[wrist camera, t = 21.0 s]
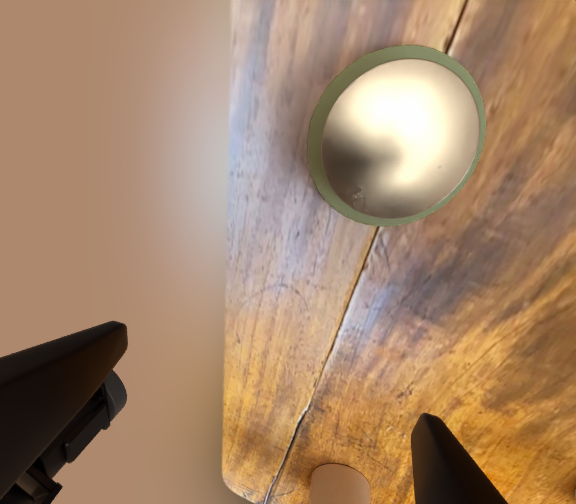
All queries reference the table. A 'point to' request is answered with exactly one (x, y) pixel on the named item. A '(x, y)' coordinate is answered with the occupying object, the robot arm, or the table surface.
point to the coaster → (341, 84)
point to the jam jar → (338, 486)
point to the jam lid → (400, 138)
